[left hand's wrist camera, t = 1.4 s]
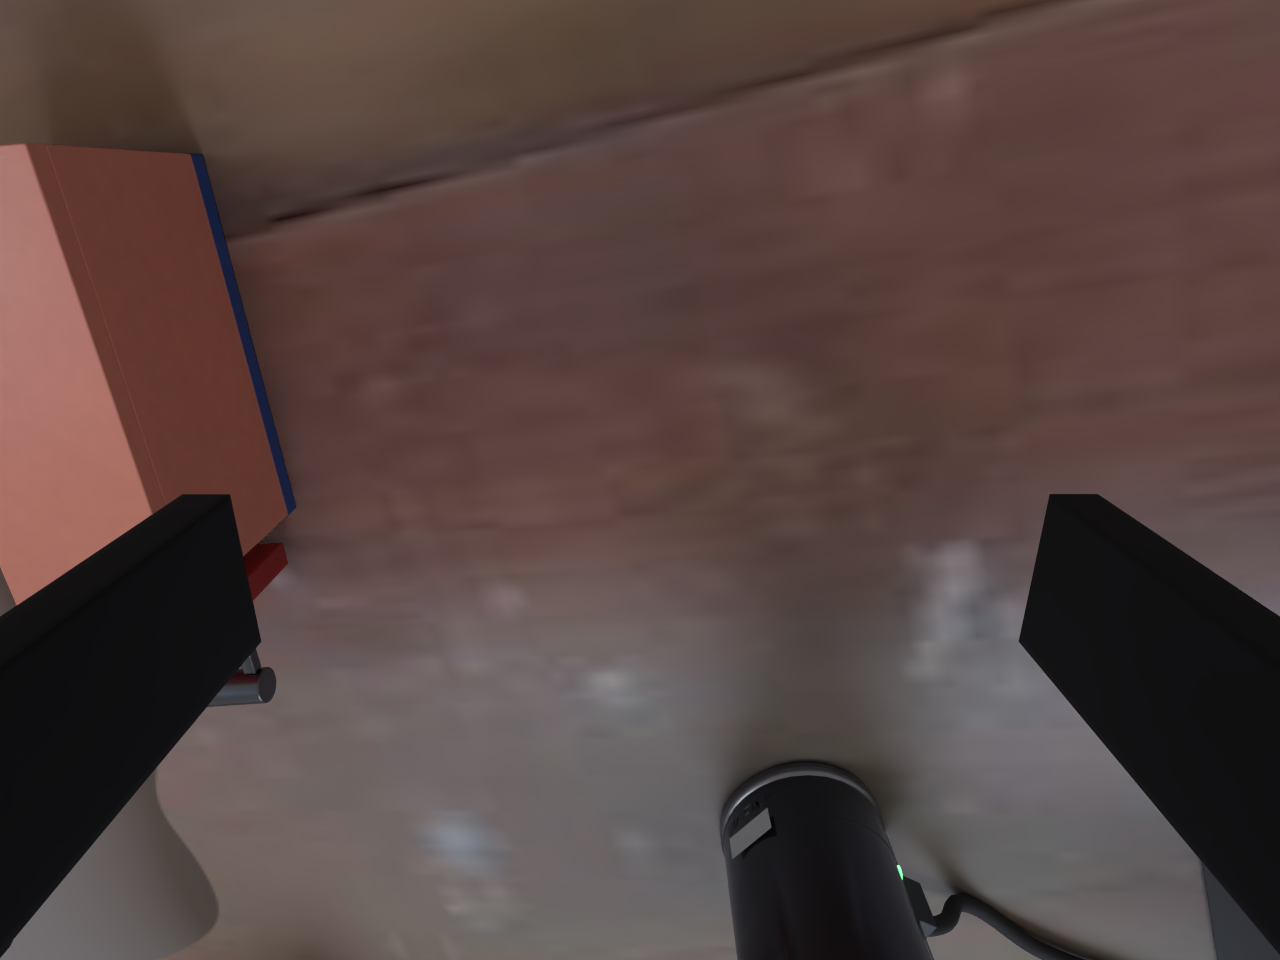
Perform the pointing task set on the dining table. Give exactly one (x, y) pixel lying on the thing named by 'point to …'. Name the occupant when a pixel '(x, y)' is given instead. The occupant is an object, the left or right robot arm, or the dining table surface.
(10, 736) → the left robot arm
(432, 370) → the dining table surface
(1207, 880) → the handheld gaming console
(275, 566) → the drawer
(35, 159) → the cabinet
